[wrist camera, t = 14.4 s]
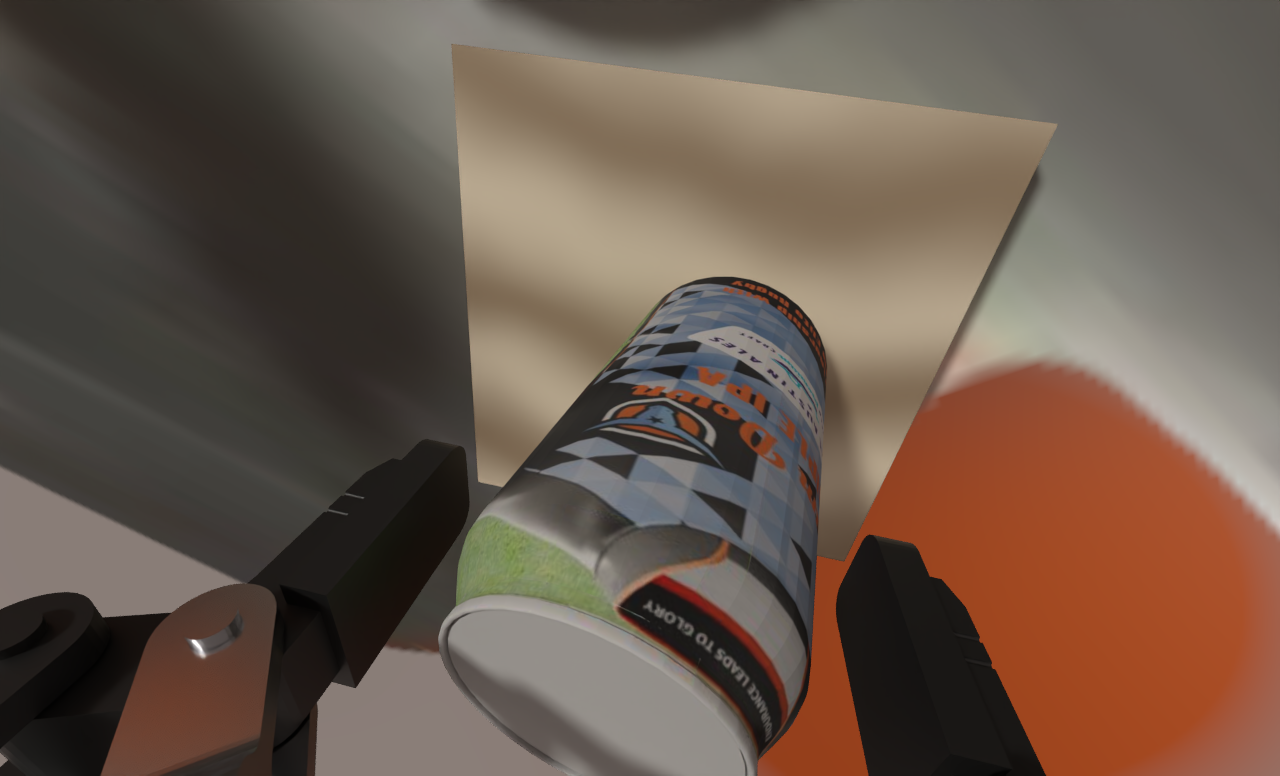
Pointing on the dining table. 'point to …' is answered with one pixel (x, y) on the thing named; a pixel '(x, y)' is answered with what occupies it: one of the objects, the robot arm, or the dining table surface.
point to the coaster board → (720, 238)
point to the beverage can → (658, 550)
